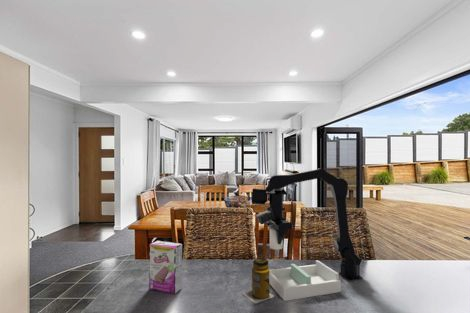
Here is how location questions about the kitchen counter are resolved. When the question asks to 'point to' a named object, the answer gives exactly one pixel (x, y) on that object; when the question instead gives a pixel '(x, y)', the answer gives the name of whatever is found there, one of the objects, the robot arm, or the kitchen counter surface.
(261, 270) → the condiment
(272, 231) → the jar
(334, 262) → the kitchen counter surface
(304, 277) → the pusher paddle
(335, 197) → the robot arm
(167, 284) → the candy bar box
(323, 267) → the white tray
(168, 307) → the kitchen counter surface
